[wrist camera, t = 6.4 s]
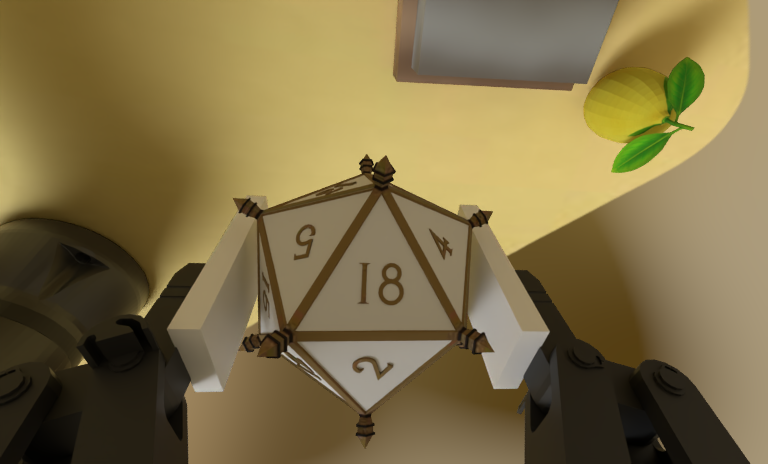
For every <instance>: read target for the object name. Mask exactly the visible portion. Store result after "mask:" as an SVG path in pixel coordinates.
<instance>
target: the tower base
mask: <svg viewBox="0 0 768 464" xmlns="http://www.w3.org/2000/svg"><path fill="white" fill-rule="evenodd" d="M618 1H619V0H398V10H397V24H396V39H395V53H394V67H393V76H394V77H395V79H396V81H397V82H414V83H433V84H453V85H472V86H491V87H510V88H529V89H548V90H567V91H571V90H572V88H573V85H574V83H578V84H587V82H588V80H589V77H590V74H591V72H592V69H593V67H594V64H595V61H596V59H597V56H598V54H599V51H600V48H601V46H602V43H603V41H604V38H605V35H606V33H607V30H608V27H609V25H610V22H611V20H612V17H613V14H614V12H615V9H616V7H617V4H618Z"/></svg>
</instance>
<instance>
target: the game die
mask: <svg viewBox="0 0 768 464" xmlns="http://www.w3.org/2000/svg"><path fill="white" fill-rule="evenodd" d="M359 164H360V165H361V167H360V168H359V170H361V172H362V174H360V175H358V176H355V177H352V178H350V179H347V180H344V181H341V182H339V183H336V184H333V185H331V186H328V187H325V188H322V189H320V190H317V191H314V192H312V193H309V194H306V195H304V196H301V197H298V198H295V199H293V200H290V201H287V202H285V203H282V204H279V205H277V206H274V207H271V208H268V209H266V210H262V209H260V208H259V207H258V206H257V202H255V203H254V202H252V201H251V200H250V199H251V198H250V197H249V198H248V199H238V198H233V200H234V202H235V204H236V206H237V208H238V210H239V212H238V213H243V214H245V215H246V217H253V218H255V219H256V220H257V265H258V328H259V334H257V335H253V334H251V336H250V337H248V338H247V337H245V338H244V340H243V342H242V345H241V347H240V348H239V350H238V351H247V352H253V351H254V349H256V348H260V350H259V353H258V355H257V357H267V358H280V357H281V356H282V357H283V358H284V359H286V360H287V361H288V362H290V363H291V364H292V365H294V366H295V367H296V368H298V369H299V370H300V371H302V372H303V373H305V374H306V375H307V376H309V377H310V378H311V379H313V380H314V381H315V382H317V383H318V384H319V385H321V386H322V387H323V388H325V389H326V390H327V391H329V392H330V393H332V394H333V395H334V396H336V397H337V398H338V399H340V400H341V401H342V402H344V403H345V404H346V405H348V406H349V407H350V408H352V409H353V410H354V411H356V412H357V413H359V416H360V419H359V422H358V423H357V424H356V426H357V427H358V432H357V433H356V436H358V437H359V439H360V441H361V443H362V444H363V446H364V448H366V446H367V444H368V442H369V441H370V439H371V437H372V435H374V434H375V432H373V426H374V423H372V419H371V413H373V412H374V411H375V410H376V409H378V408H379V407H380V406H381V405H383V404H384V403H385V402H386V401H387V400H389V399H390V398H391V397H392V396H394V395H395V394H396V393H397V392H399V391H400V390H401V389H402V388H404V387H405V386H406V385H407V384H408V383H410V382H411V381H412V380H413V379H415V378H416V377H417V376H418V375H420V374H421V373H422V372H423V371H425V370H426V369H427V368H428V367H429V366H431V365H432V364H433V363H434V362H435V361H437V360H438V359H439V358H441V357H442V356H443V355H444V354H446V353H447V352H448V351H449V350H451V349H452V348H453V347H454V346H455V345H459V346H460V348H461V349H462V348H464V349H470V350H472V353H473V354H482V353H486V352H494V350H493V349H492V347H491V345H490V344H489V342H488V340H487V337H486V335H485V333H484V332H482V333H479V332H477V330H476V329H475V328H474V329H473V330H469V329H467V315H468V297H469V279H470V261H471V243H472V229H473V228H474V227H482V225H484V224H488V220H489V218H490V216H491V215H492V213H493V211H481V210H479V211H478V213H476V214H475V213H473V215H472V217H471V218H470V219H468V220H467V219H465V218H462V217H460V216H458V215H456V214H454V213H452V212H450V211H448V210H446V209H444V208H441V207H439V206H437V205H435V204H433V203H431V202H429V201H427V200H425V199H423V198H420V197H418V196H416V195H414V194H412V193H410V192H408V191H406V190H404V189H402V188H399V187H397V186H395V185H393V184H391V183H390V182H392V181H393V180H394V179H393V177H392V176H393V174H394V173H395V172H396V171H395V170H394V168H393V167H392V165H391V164H390V162H389V160H388V158H387V156H385V157H384V158H382V159H381V160H380V161H379V162H376V164H375V166H374V168H373V167H372V166H373V165H374V164H373V161H372V159H370V158H369V156H368V155H367V154H366V156H365V157H364V159H362V160H361V161H360V163H359ZM371 172H374V175H372V174H371ZM259 346H261V347H259Z"/></svg>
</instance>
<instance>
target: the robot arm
mask: <svg viewBox="0 0 768 464" xmlns="http://www.w3.org/2000/svg"><path fill="white" fill-rule="evenodd" d="M249 197H250V198H251V199H250V200H251V201H252V202H254V203H255V202H257V206H258V207H259V208H260V209H262V210H266V209H268V205H267V198H266V196H248V195H247V196H246V198H245V199H248V198H249ZM479 210H480V209H479V208H478V206H477V205H460V207H459V211H458V216H460V217H462V218H465V219H467V220H468V219H470V218H471V217H472V215H473V213H475V214H476V213H478V211H479ZM238 212H239V210H238V211H237V213H236V214H235V216H234V218H233V219H232V221H231V223H230V224H229V226H228V228H227V229H226V231H225V233H224V234H223V236H222V238H221V239H220V241H219V243H218V244H217V246H216V248H215V249H214V251H213V253H212V254H211V256H210V258H209V259H208V261H207V263H188V264H187V265H186V266H184V267H183V268H182V269H180V270H179V271H178V272H176V273H175V274H174V276H173V277H172V279H171V280H170V282H169V283H168V285H167V288H165V289H164V290H163V292H162V293H161V295H160V298H158V299H157V300H156V302H155V303H154V305H153V306H152V308H151V309H150V311H149V312H148V313H147V315H146V316H145V318H143V317H141V316H139V315H138V314H139V312H140V311H141V309H142V308H143V307H144V305H145V304H146V302H147V299H148V295H149V286H148V282H147V279H146V277H145V275H144V273H143V271H142V269H141V268H140V267H139V265H138V264H137V263H136V262H135V260H134V259H133V258H132V257H131V256H130V255H128V254H127V253H126V252H125V251H124V250H123V249H121V248H120V247H119V246H117V245H116V244H114V243H113V242H111V241H109V240H108V239H106V238H104V237H102V236H100V235H98V234H96V233H94V232H92V231H90V230H87V229H85V228H82V227H79V226H76V225H73V224H69V223H65V222H61V221H56V220H49V219H21V220H15V221H11V222H8V223H5V224H3V225H1V226H0V464H188V429H187V403H186V400H185V397H184V394H185V392H186V389H187V387H188V385H189V383H190V381H191V383H192V386H193V388H194V390H195V392H223V391H224V388H225V385H226V382H227V379H228V376H229V374H230V371H231V368H232V366H233V363H234V360H235V357H236V354H237V351H238V349H239V346H240V343H241V340H242V337H243V335H244V332H245V329H246V326H247V323H248V321H249V318H250V315H251V312H252V309H253V307H254V304H255V301H256V298H257V295H258V265H257V220H256V219H255V218H253V217H246V215H245V214H243V213H238ZM468 315H469V318H470V321H471V324H472V327H473V329H474V328H475V329H476V330H477V332H479V333H482V332H484V333H485V335H486V337H487V340H488V342H489V344H490V345H491V347H492V349H493V350H494V352H486V353H482V356H483V359H484V362H485V365H486V368H487V370H488V373H489V376H490V379H491V382H492V385H493V388H494V389H513V388H515V389H517V388H518V387H519V385H520V383H521V381H522V379H523V378H524V379H525V382H526V383H527V386H528V389H529V391H528V392H527V394H526V395H525V397H524V399H523V401H522V402H521V404H520V405H519V408H518V412H517V413H519V414H521V413H522V412H523V410H524V408H525V464H750V462H749V461H748V460H747V458H746V457H745V455H744V454H743V453H742V451H741V450H740V448H739V447H738V446H737V444H736V443H735V441H734V440H733V438H732V437H731V436H730V434H729V433H728V431H727V430H726V429H725V427H724V426H723V424H722V423H721V422H720V420H719V419H718V417H717V416H716V415H715V413H714V412H713V410H712V409H711V407H710V406H709V405H708V403H707V402H706V400H705V399H704V398H703V396H702V395H701V393H700V392H699V391H698V389H697V388H696V386H695V385H694V384H693V383H692V382H691V381H690V380H689V378H688V377H686V376H685V375H684V374H683V373H681V372H680V371H679V370H678V369H676V368H674V367H672V366H670V365H668V364H667V363H664V362H661V361H657V360H645V361H644V362H642V363H641V364H640V365H639V366H638V367H637V368H636V369H635V368H631V367H628V366H624V365H621V364H617V363H614V362H610V361H607V360H605V358H604V357H603V356H602V355H601V353H600V352H599V351H598V350H597V349H595V348H594V347H592V346H591V345H590V344H588V343H586V342H584V341H582V340H579V339H576V338H575V336H574V334H573V333H572V332H571V330H570V328H569V327H568V325H567V324H566V322H565V320H564V319H563V317H562V316H561V314H560V313H559V311H558V310H557V308H556V306H555V305H554V303H552V300H551V299H550V297H549V296H548V294H546V291H545V289H544V288H543V286H542V285H541V283H540V281H539V280H538V279H536V278H535V277H534V276H533V275H532V274H531V273H529V272H528V271H527V270H514V268H513V267H512V265H511V263H510V261H509V260H508V258H507V256H506V254H505V253H504V251H503V249H502V248H501V246H500V244H499V242H498V241H497V239H496V237H495V235H494V234H493V232H492V230H491V228H490V227H489V225H488V224H484V225H482V227H474V228H473V229H472V243H471V261H470V279H469V297H468ZM83 358H84V359H85V360H86V361H87V363H88V364H84V365H80V366H78V365H79V363H80V362H81V361H82V360H83ZM658 438H660V440H661V442H662V443H663V445H664V447H665V449H666V451H665V450H664V449H663V448H662V447H661V445H660V444H659V442H658V440H657V439H658Z"/></svg>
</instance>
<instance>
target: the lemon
mask: <svg viewBox="0 0 768 464" xmlns="http://www.w3.org/2000/svg"><path fill="white" fill-rule="evenodd" d="M704 76H705V75H704V73H703V71H702V69H701V67H700V65H698V64H697V63H696V62H694V61H693V60H691V59H690V58H689V57H686V58H685V59H684V60H682V61H681V62H679V63H678V64H677V65H676V66H675V67H674V68H673V70H672V72H671V73H670V75H669V78H668V77H666V76H665V75H663V74H661V73H658V72H656V71H654V70H651V69H648V68H643V67H628V68H623V69H620V70H617V71H614V72H612V73H609V74H608V75H607V76H605V77H604V78H602V79H601V80H600V81H599V82H598V83H597V84H596V85H595V86H594V87H593V88H592V89H591V91H590V92H589V94H588V96H587V98H586V101H585V103H584V118H585V120H586V123H587V125H588V127H589V128H590V129H591V130H592V131H594V132H595V133H596V134H597V135H598V136H600V137H602V138H605V139H608V140H611V141H614V142H619V143H628V144H627V145H626V146H625V147H624V148H623V149H622V150H621V151H620V152H619V154H618V155H617V157H616V158H615V161H614V164H613V168H612V171H611V172H615V173H622V172H628V171H632V170H635V169H637V168H639V167H641V166H643V165H645V164H646V163H648V162H649V161H650V160H651V159H653V158H654V157H655V156H656V155H657V154H658V153H659V152H660V151H661V150H662V149H663V147H664V146H665V144H666V143H667V141H668V140H669V138H670V137H671V135H672V134H674V133H675V132H677V131H679V130H681V129H687V130H690V131H692V130H693V129H694V127H691V126H687V125H684V124H680V123H678V122H677V120H678V117H679V115H680V114H681V113H682V112H683V111H684V110H685V109H686V108H688V107H689V106H690V105H691V104H692V103H693V102H694V101H695V100H696V99H697V98H698V97H699V96H700V94H701V92H702V90H703V88H704ZM671 125H673V126H676V127H680V128H678V129H676V130H674V131H672V132H670V133H663V132H664V131H665V130H667V129H668V128H669V127H670V126H671Z"/></svg>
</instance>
